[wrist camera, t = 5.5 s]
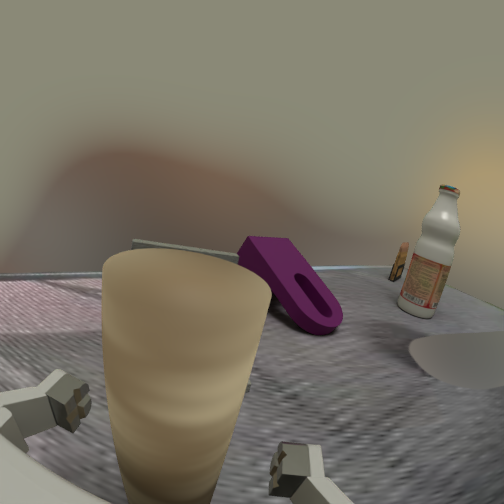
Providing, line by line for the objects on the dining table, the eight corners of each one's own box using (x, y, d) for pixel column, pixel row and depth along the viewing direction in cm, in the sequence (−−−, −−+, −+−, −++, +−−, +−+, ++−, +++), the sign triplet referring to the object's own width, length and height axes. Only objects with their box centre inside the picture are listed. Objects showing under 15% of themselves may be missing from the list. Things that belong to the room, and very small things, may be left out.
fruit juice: (402, 314, 52) (440, 179, 45) (392, 298, 61) (424, 181, 54) (438, 322, 50) (476, 194, 44) (424, 307, 59) (457, 194, 53)
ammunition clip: (395, 276, 87) (406, 241, 84) (400, 277, 86) (411, 243, 83) (388, 279, 79) (400, 241, 76) (393, 282, 78) (405, 243, 75)
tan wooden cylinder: (196, 490, 13) (247, 259, 9) (208, 542, 9) (299, 323, 5) (131, 487, 11) (119, 241, 8) (135, 541, 8) (81, 300, 4)
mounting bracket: (318, 350, 45) (264, 271, 54) (352, 319, 41) (288, 238, 50) (280, 366, 39) (224, 273, 48) (317, 333, 34) (247, 235, 44)
